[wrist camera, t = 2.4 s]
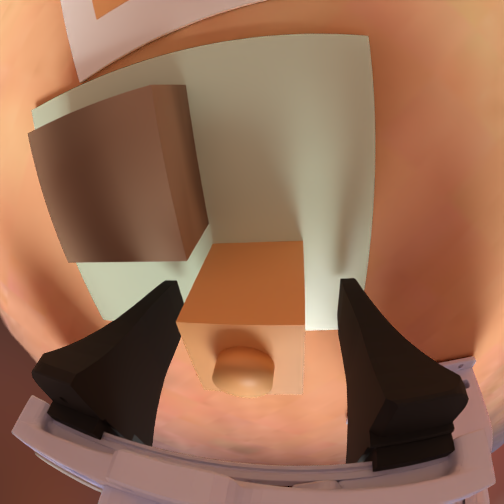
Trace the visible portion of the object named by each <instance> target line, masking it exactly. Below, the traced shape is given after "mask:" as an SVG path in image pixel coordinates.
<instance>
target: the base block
mask: <svg viewBox="0 0 504 504" xmlns="http://www.w3.org/2000/svg"><path fill="white" fill-rule="evenodd" d="M28 137H29V142H30V146H31V151H32V155H33V159H34V163H35V167H36V171H37V175H38V179H39V182H40V186H41V189H42V192H43V196H44V199H45V202H46V205H47V208H48V211H49V214H50V217H51V220H52V222H53V225H54V228H55V231H56V233H57V236H58V239H59V241H60V244H61V246H62V249H63V251H64V253H65V256H66V258H67V261H68V263H84V262H164V261H187V260H188V259H189V257H190V255H191V253H192V252H193V250H194V248H195V246H196V245H197V243H198V241H199V240H200V238H201V236H202V234H203V233H204V231H205V229H206V228H207V226H208V224H209V221H208V216H207V211H206V205H205V200H204V194H203V189H202V183H201V177H200V172H199V166H198V160H197V154H196V148H195V142H194V136H193V129H192V123H191V116H190V110H189V103H188V96H187V89H186V85H148V86H145V87H141V88H138V89H135V90H131V91H128V92H125V93H122V94H119V95H116V96H113V97H110V98H107V99H104V100H102V101H99V102H96V103H94V104H91V105H89V106H86V107H84V108H81V109H79V110H76V111H74V112H71V113H69V114H67V115H65V116H62V117H60V118H58V119H56V120H54V121H52V122H49V123H47V124H45V125H43V126H41V127H39V128H37V129H35V130H33V131H32V132H30V133H28Z"/></svg>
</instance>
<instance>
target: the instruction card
mask: <svg viewBox="0 0 504 504" xmlns="http://www.w3.org/2000/svg"><path fill="white" fill-rule="evenodd" d="M262 1H267V0H61V6H62V11H63V17H64V22H65V26H66V31H67V36H68V40H69V44H70V48H71V52H72V56H73V60H74V64H75V68H76V71H77V75H78V79H79V82H80V83H82V82H84V81H85V80H87V79H88V78H90V77H91V76H93V75H94V74H96V73H97V72H99V71H100V70H102V69H103V68H105V67H107V66H108V65H110V64H112V63H113V62H115V61H117V60H118V59H120V58H122V57H124V56H125V55H127V54H129V53H131V52H133V51H134V50H136V49H138V48H140V47H142V46H144V45H146V44H148V43H150V42H152V41H154V40H156V39H158V38H160V37H162V36H165V35H167V34H169V33H171V32H174V31H176V30H178V29H180V28H183V27H185V26H188V25H190V24H193V23H195V22H198V21H201V20H203V19H206V18H209V17H212V16H215V15H217V14H220V13H223V12H227V11H230V10H233V9H236V8H240V7H243V6H247V5H251V4H254V3H258V2H262Z"/></svg>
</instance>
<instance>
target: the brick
mask: <svg viewBox="0 0 504 504" xmlns="http://www.w3.org/2000/svg"><path fill="white" fill-rule="evenodd" d="M176 324H177V327H178V329H179V332H180V335H181V337H182V340H183V342H184V345H185V347H186V350H187V352H188V354H189V357H190V359H191V362H192V364H193V366H194V369H195V371H196V373H197V376H198V378H199V380H200V382H201V385H202V387H203V389H204V390H212V391H222V392H225V393H227V394H230V395H232V396H236V397H241V398H257V397H261V396H264V395H266V394H274V395H303V381H304V356H305V280H304V251H303V241H279V242H247V243H217V244H212V246H211V248H210V250H209V252H208V255H207V257H206V259H205V261H204V263H203V265H202V267H201V269H200V271H199V273H198V275H197V277H196V279H195V281H194V284H193V286H192V288H191V290H190V292H189V294H188V296H187V298H186V301H185V303H184V305H183V307H182V309H181V311H180V314H179V316H178V318H177V320H176Z"/></svg>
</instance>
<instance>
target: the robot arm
mask: <svg viewBox="0 0 504 504" xmlns="http://www.w3.org/2000/svg"><path fill="white" fill-rule="evenodd" d="M183 305H184V301H183V298H182V295H181V292H180V289H179V286H178V282H177V280H165V281H164V282H162V283H161V284H159V285H158V286H157V287H156V288H154V289H153V290H152V291H151V292H150V293H148V294H147V295H146V296H145V297H143V298H142V299H141V300H140V301H139V302H137V303H136V304H135V305H134V306H132V307H131V308H130V309H129V310H127V311H126V312H125V313H123V314H122V315H121V316H119V317H118V318H117V319H115V320H114V321H112V322H111V323H109V324H108V325H106V326H105V327H103V328H102V329H100V330H98V331H96V332H94V333H93V334H91V335H89V336H87V337H85V338H83V339H81V340H79V341H77V342H75V343H72V344H70V345H68V346H65V347H63V348H60V349H57V350H54V351H51V352H48V353H44V354H43V355H42V357H41V358H40V360H39V361H38V363H37V364H36V366H35V367H34V369H33V370H32V376H33V379H34V380H35V382H36V383H37V384H38V385H39V387H41V389H42V390H43V391H44V392H45V393H46V394H47V395H48V396H49V397H50V398H51V399H52V400H53V402H52V404H51V405H49V404H48V403H47V402H45V401H43V400H41V399H39V398H37V397H35V396H31V397H30V399H29V400H28V402H27V404H26V406H25V407H24V409H23V411H22V413H21V415H20V416H19V418H18V420H17V422H16V424H15V426H14V428H13V430H12V434H14V435H15V436H16V437H17V438H19V439H20V440H21V441H22V442H24V443H25V444H26V445H28V446H29V447H30V448H32V449H33V450H35V451H36V452H37V453H39V454H40V455H41V456H43V457H45V458H46V459H48V460H49V461H51V462H53V463H54V464H56V465H58V466H59V467H61V468H63V469H65V470H66V471H68V472H70V473H72V474H74V475H76V476H78V477H79V478H81V479H83V480H85V481H87V482H89V483H91V484H93V485H95V486H98V487H100V488H102V489H103V490H102V493H101V496H100V499H99V502H98V504H490V501H489V495H488V490H487V488H488V487H489V486H491V485H493V484H494V483H495V476H494V469H493V464H492V459H491V450H492V442H493V433H492V426H491V422H490V419H489V415H488V412H487V409H486V405H485V402H484V399H483V396H482V393H481V391H480V388H479V385H478V382H477V379H476V377H475V374H474V371H473V369H472V367H473V366H474V364H475V362H476V360H475V357H473V356H472V357H467V358H462V359H457V360H452V361H446V362H441V363H437V362H436V361H434V360H433V359H431V358H429V357H428V356H427V355H425V354H424V353H422V352H421V351H420V350H419V349H417V348H416V347H415V346H414V345H412V344H411V343H410V342H409V341H408V340H406V339H405V338H404V337H403V336H402V335H401V334H400V333H399V332H398V331H397V330H396V329H395V328H394V327H393V326H392V325H391V324H390V323H389V322H388V321H387V319H386V318H385V317H384V316H383V315H382V314H381V312H380V311H379V310H378V309H377V307H376V306H375V305H374V304H373V302H372V301H371V300H370V299H369V297H368V296H367V294H366V293H365V292H364V290H363V289H362V287H361V286H360V285H359V283H358V282H357V280H356V279H355V278H341V279H340V289H339V300H338V310H337V321H338V335H339V341H340V346H341V352H342V357H343V363H344V369H345V375H346V383H347V406H348V416H347V419H346V424H348V430H347V455H346V464H337V465H315V466H285V465H263V464H249V463H239V462H230V461H222V460H215V459H209V458H202V457H197V456H191V455H186V454H181V453H176V452H172V451H167V450H163V449H159V448H155V447H152V443H153V434H154V426H155V420H156V414H157V408H158V404H159V399H160V394H161V390H162V387H163V383H164V379H165V376H166V373H167V370H168V368H169V365H170V363H171V360H172V358H173V355H174V353H175V350H176V348H177V346H178V343H179V341H180V338H181V335H180V332H179V329H178V327H177V324H176V320H177V318H178V316H179V314H180V311H181V309H182V307H183ZM272 485H275V486H272ZM281 486H292V487H281Z"/></svg>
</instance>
